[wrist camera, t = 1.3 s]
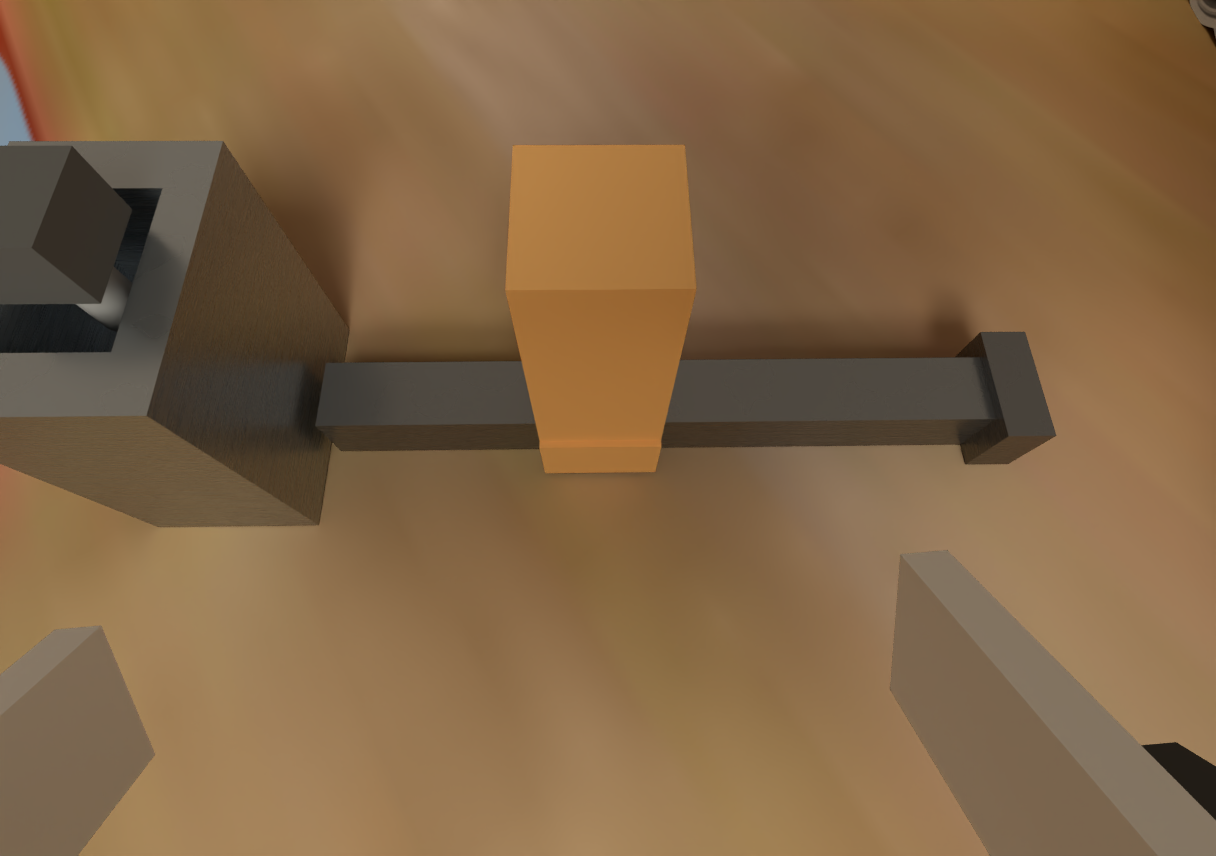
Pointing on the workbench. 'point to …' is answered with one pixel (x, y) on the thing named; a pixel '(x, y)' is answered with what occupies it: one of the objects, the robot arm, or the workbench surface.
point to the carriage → (600, 297)
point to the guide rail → (717, 403)
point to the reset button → (60, 233)
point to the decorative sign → (1205, 12)
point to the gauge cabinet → (179, 356)
